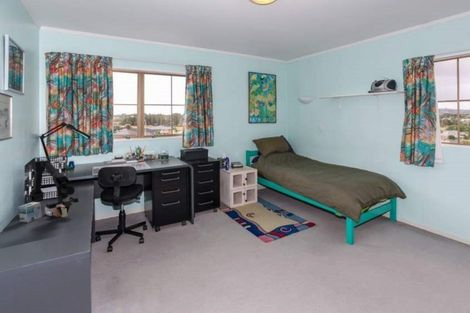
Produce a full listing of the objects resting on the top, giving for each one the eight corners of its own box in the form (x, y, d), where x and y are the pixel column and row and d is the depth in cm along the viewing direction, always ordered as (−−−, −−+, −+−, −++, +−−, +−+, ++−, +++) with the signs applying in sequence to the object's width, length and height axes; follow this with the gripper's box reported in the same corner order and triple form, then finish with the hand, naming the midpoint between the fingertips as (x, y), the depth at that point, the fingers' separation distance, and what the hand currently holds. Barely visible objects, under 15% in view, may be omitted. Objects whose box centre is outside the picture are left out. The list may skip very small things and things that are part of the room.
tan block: (45, 213, 193) (44, 207, 192) (61, 209, 202) (60, 203, 201) (50, 216, 189) (49, 209, 188) (65, 211, 198) (65, 205, 197)
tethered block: (53, 215, 191) (52, 207, 190) (62, 212, 196) (61, 204, 195) (60, 218, 185) (59, 210, 184) (69, 215, 190) (68, 207, 189)
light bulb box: (28, 222, 178) (26, 207, 176) (19, 221, 179) (17, 206, 177) (42, 216, 188) (40, 202, 186) (34, 216, 189) (32, 201, 188)
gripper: (51, 198, 173) (54, 221, 176) (81, 191, 188) (83, 212, 191) (44, 195, 179) (47, 217, 182) (73, 189, 195) (75, 209, 197)
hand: (64, 214), depth 188 cm, fingers closed on tethered block, 3 cm apart
